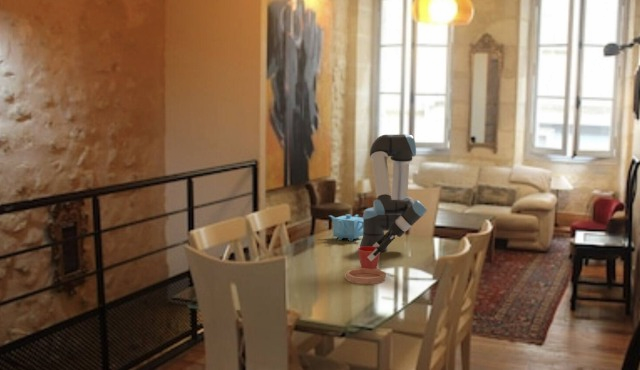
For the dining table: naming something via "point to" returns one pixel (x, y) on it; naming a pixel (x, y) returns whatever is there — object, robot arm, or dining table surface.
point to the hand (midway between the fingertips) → (369, 256)
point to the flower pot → (364, 261)
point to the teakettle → (347, 227)
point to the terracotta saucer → (365, 276)
